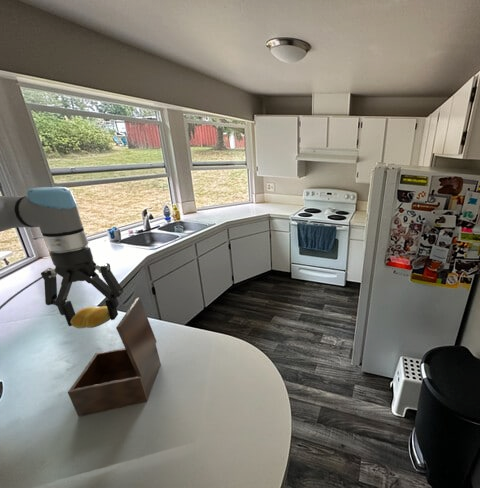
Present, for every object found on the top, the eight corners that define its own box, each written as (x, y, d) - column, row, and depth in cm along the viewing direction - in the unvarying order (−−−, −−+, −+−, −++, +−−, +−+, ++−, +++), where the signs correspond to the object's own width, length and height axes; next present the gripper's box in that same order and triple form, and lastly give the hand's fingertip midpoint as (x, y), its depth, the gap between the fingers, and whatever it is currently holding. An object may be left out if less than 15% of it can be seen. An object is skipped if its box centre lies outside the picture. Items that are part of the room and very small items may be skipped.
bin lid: (115, 327, 61) (119, 326, 61) (136, 298, 73) (139, 297, 73) (138, 377, 67) (141, 376, 67) (153, 342, 79) (156, 341, 79)
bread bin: (78, 416, 66) (67, 392, 62) (103, 375, 78) (95, 353, 75) (147, 401, 70) (140, 378, 67) (160, 364, 82) (155, 343, 79)
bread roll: (103, 328, 70) (99, 316, 68) (66, 331, 68) (61, 319, 67) (121, 310, 77) (117, 299, 76) (87, 312, 76) (83, 301, 74)
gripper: (1, 257, 58) (36, 335, 66) (114, 249, 65) (134, 321, 72) (25, 246, 65) (54, 318, 72) (125, 240, 71) (142, 306, 79)
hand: (94, 320), depth 72 cm, fingers closed on bread roll, 9 cm apart
